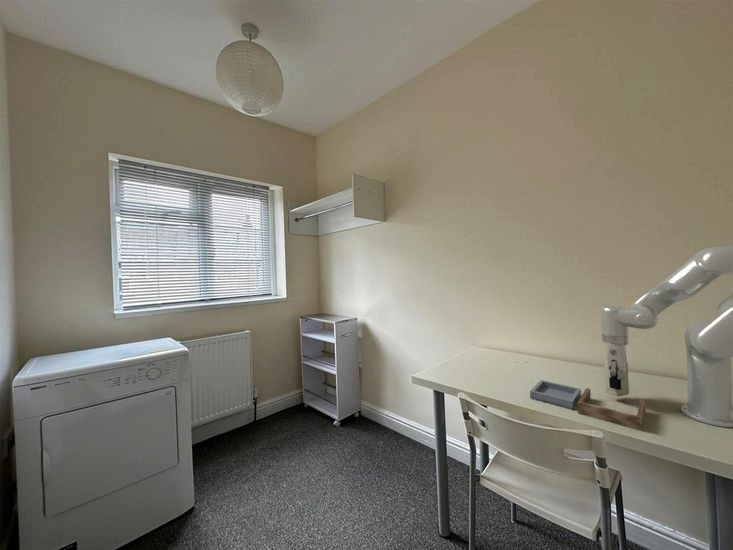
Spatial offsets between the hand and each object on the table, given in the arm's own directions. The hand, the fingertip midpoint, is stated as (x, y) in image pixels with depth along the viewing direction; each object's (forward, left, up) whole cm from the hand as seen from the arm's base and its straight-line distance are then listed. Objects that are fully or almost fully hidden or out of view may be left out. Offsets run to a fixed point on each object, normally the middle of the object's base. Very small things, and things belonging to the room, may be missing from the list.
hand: (616, 384), depth 109 cm
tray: (+17, +12, -6) cm, 22 cm away
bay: (0, +13, -6) cm, 14 cm away
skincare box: (0, 0, -4) cm, 4 cm away
